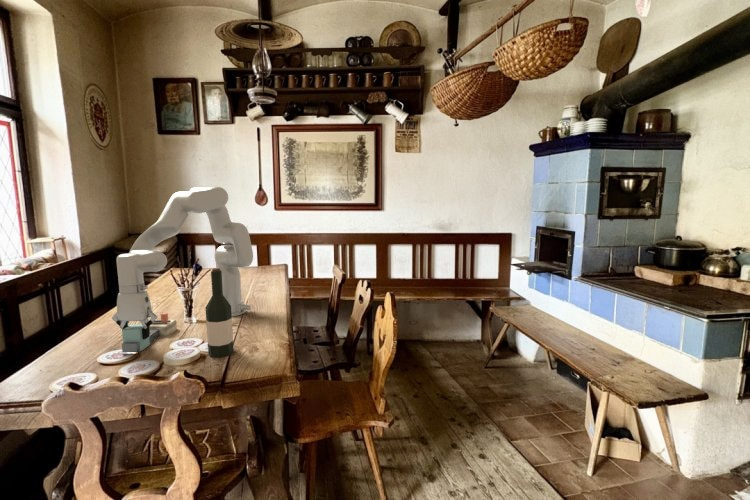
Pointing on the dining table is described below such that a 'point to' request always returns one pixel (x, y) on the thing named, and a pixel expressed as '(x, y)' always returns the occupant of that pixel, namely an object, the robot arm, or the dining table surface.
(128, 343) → the rail
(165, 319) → the orange clay brick
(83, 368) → the dining table surface
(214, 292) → the wine bottle
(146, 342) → the carriage
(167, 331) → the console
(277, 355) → the dining table surface
